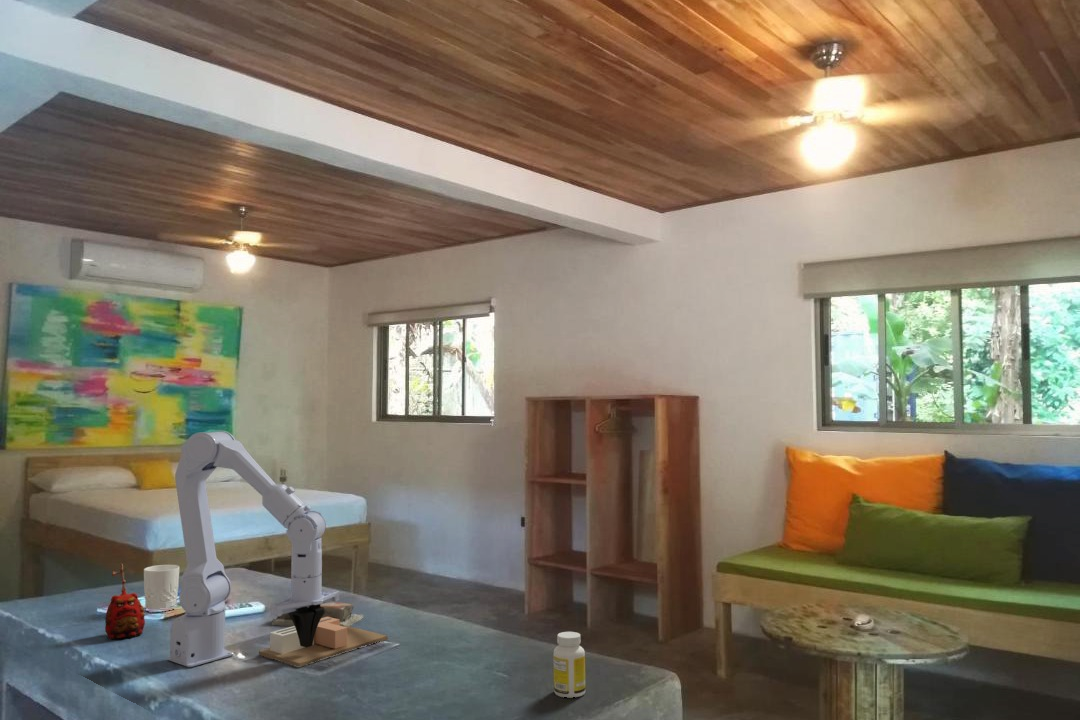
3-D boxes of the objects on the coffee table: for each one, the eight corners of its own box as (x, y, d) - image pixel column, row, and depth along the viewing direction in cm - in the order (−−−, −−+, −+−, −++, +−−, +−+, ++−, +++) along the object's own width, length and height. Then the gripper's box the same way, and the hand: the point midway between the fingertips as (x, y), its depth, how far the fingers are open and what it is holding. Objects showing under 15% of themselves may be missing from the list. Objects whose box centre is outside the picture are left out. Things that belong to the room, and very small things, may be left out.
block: (335, 648, 159) (335, 630, 159) (303, 640, 165) (303, 622, 165) (358, 641, 164) (358, 623, 164) (327, 633, 170) (327, 616, 170)
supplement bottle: (584, 687, 140) (583, 630, 140) (586, 698, 134) (586, 639, 135) (552, 687, 139) (552, 630, 140) (554, 699, 134) (554, 639, 135)
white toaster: (282, 654, 156) (282, 635, 157) (270, 650, 159) (270, 631, 159) (314, 644, 162) (314, 626, 163) (301, 641, 165) (301, 623, 165)
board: (299, 667, 151) (299, 663, 151) (258, 655, 158) (258, 650, 158) (387, 639, 168) (387, 635, 168) (346, 629, 176) (346, 625, 176)
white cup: (145, 606, 197) (146, 565, 197) (180, 604, 199) (181, 563, 200) (140, 615, 189) (141, 572, 190) (176, 612, 192) (177, 569, 192)
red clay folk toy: (108, 642, 167) (110, 570, 168) (101, 635, 173) (102, 565, 173) (147, 636, 172) (149, 565, 173) (139, 629, 178) (141, 560, 178)
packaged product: (270, 605, 180) (294, 595, 190) (270, 627, 180) (294, 616, 190) (343, 609, 176) (364, 599, 186) (343, 632, 176) (364, 620, 185)
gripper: (287, 584, 149) (287, 659, 148) (349, 570, 160) (349, 640, 159) (264, 579, 153) (264, 652, 152) (326, 566, 164) (326, 634, 164)
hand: (306, 645), depth 156 cm, fingers closed
